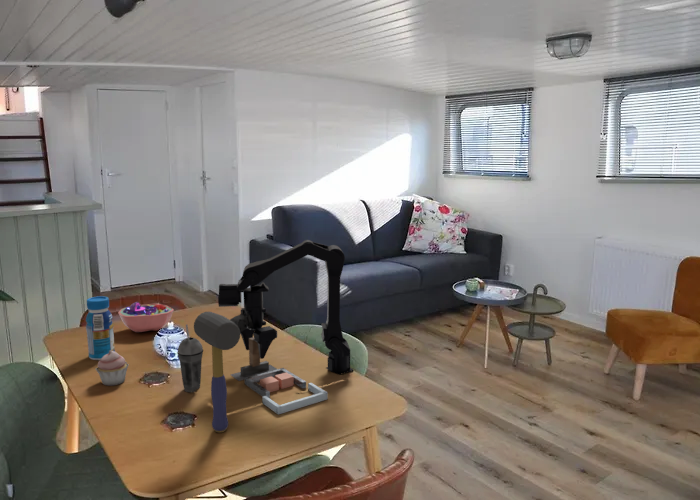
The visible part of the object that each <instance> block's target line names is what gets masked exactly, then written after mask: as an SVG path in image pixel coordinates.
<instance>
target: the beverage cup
mask: <svg viewBox="0 0 700 500" xmlns="http://www.w3.org/2000/svg"><path fill="white" fill-rule="evenodd" d="M185 330H186V338H183V339H182V340H181V342H180V343H179V344H178V348H177V357H178V360H179V366H180V372H181V379H182V380H181V381H182V385H183V390H184V392H186V393H196V392H197V390H199V388H201V381H202V359H203V356H204V355H203V354H204V353H203V352H204V349H203V345H202V342H201V341H200V340H199V339H197V338H195V337H190V334H189V326H188V324H185Z"/></svg>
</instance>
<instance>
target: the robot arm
mask: <svg viewBox="0 0 700 500" xmlns="http://www.w3.org/2000/svg"><path fill="white" fill-rule="evenodd" d="M306 256H311V257H312V258H315V259H318V260H319V261H322V262H323V261H324V263H325V268H326V274H327V302H326V303H327V305H326V306H327V307H326V309H327V313H326V314H327V315H326V316H327V317H326V321H325V322H322V323H321V330H322V332H321V333H320V335H321V340H322V342H323V343H324V346H325V347H326V348H327V349H328V350H330V351H329V352H328V357H327V367H325V369H326V370H327V371H329V372H330V373H333V374H336V375H339V376H340V375H344V374H346V373H347V374H348V373H351V372H353V371H354V368H352V367H351V348H350V346H349V344H348V340H347V339H346V338H344V337H343V330H342V326H341V320H340V318H341V315H340V314H341V311H340V310H341V276H342V274H343V273H342V272H343V269H344V264H345V259H346V258H345V256H346V255H345V254H344V252H343V250H342V249H341V248H340V247H339V246H338V245H336V244H332V245H327V244H323V243H318V242H314V241H312V240H310V239H305V240H303V241H302V242H300V243H299V244H296V245H294V246H293V247H290V248H288V249H286V250H285V251H282V252H280V253H278V254H276V255H273V256H272V257H269V258H267V259H264V260H263V259H262V260H257V261H255V262H251V263H248V264H246V265H245V266H244V268H243V271H242V276H241V277H240V279H238V281H237V283H232V284H227V283H220V284H218V297H217V301H218V302H217V303H218V307H220V308H222V307H224V308H225V307H238V306H239V305H240V303H242V298H243V307H241V308H240V313H239V314H238V315H235V316H234V317H232V318H230V319H229V320H231V321H232V322H234V323H235V324H236V325H237V326H238V327H239V329H240V337H241V339H242V342H243V344H244V345H243V346H244V348H245V350H246V351H249V338H253V337H254V338H255V339H254V341H256V342H257V343H258V349H259V355H260V360H263V359H265V356H266V355H267V353H268V351H269V349H270V346H271V345H272V343H273V341H274V340H276V339H277V338H278V331H277V330H276V328H273V327H272V326H270V325H267V321H265V320H264V313H266V312H267V311H266V308H265V307H264V297H263V293H265V292H269V290H270V289H269V286H268V285H266V284H265V282H263V281H264V280H266V279H267V278H268V277H269V276H270V275H272V274H273V273H274V272H276V271H278V270H280V269H283V268H284V267H286V266H288V265H290V264H293V263H294V262H296V261H298V260H301V259H303V258H304V257H306ZM242 293H243V295H242ZM242 296H243V297H242Z"/></svg>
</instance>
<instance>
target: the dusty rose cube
mask: <svg viewBox="0 0 700 500" xmlns="http://www.w3.org/2000/svg"><path fill="white" fill-rule="evenodd" d="M259 385H261V386H262V387H264V388H265V389H266V390H268V391H269V392H270V393H271V392H276V391H279V390H280V387H279V381H278V380H277V379H275V378H274V377H272V376H271V377H267V378H264V379H260V382H259Z"/></svg>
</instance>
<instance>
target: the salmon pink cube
mask: <svg viewBox="0 0 700 500" xmlns="http://www.w3.org/2000/svg"><path fill="white" fill-rule="evenodd" d="M275 379H277V380H278V381H279V389H281V390H283V389H287V388H290V387H294V385H295V384H294V377H293V376H292V375H290V374H288V373H287V372H286V373H282V374H279V375H275Z"/></svg>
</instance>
